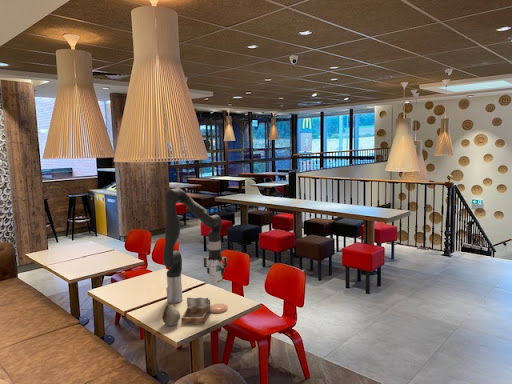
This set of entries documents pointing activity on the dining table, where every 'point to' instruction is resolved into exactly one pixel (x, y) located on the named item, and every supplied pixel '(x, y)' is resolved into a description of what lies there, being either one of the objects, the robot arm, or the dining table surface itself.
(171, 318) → the fruit
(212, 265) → the syrup box
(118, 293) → the dining table surface
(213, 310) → the saucer
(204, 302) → the frame
